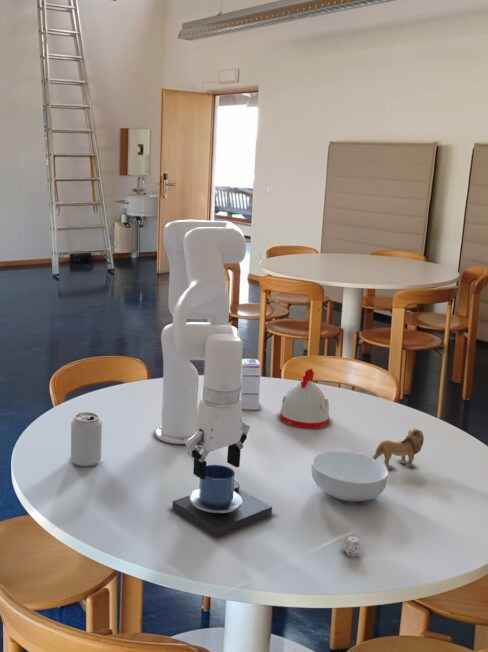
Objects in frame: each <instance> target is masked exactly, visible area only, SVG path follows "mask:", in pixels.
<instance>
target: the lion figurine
mask: <svg viewBox="0 0 488 652" xmlns="http://www.w3.org/2000/svg"><path fill="white" fill-rule="evenodd" d="M424 440H425V436H424V433H423V431H422V430H420V429H417V428H413V429H410V430H408V433H407V435H406V436H405V438H404V439H403V440H401V441H392V440H383V441H381V442H380V443H379V444H378V446H377V447H376V450H375V452H374V455H373V456H372V458H373V459H375V460H378V458H379V457H381V456H382V455H383V456H384V461H383V463H384V464H385V465H384V466H385V467H386V468H387V470H393V469H394V467H393V466H392V465H390V460H391V458H392V456H396V457H401V458H400V463H401V464H406V463H407V466H408V467H409V468H412V469H413V468H414V467H415V465H414V464H413V461H414V459H415V455H416V454H418V453H419V452H421V449H422V447H423V445H424ZM406 456H407V457H408V462H407V461H406Z"/></svg>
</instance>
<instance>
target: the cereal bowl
mask: <svg viewBox="0 0 488 652" xmlns="http://www.w3.org/2000/svg"><path fill="white" fill-rule="evenodd" d="M311 476H312V480H313V481H314V483H315V484H316V485H317V487H318V488H319V489H320V490H322V491H323V492H324V493H326V494H328V495H329V496H331V497H333V498H335V499H337V500H339V501H344V502H348V503H349V502H350V503H357V502H361V501H362V502H364V501H369V500H372V499H375V498H376V497H378V496H380V495H381V494H382V493H383V492H384V490H385V489H386V486H387V483H388V480H389V469H388V468H387V466H386V465H384V464H383V463H382V462H380V461H379V460H378V459H376V460H375V459H373V457H371V456H367V455H364V454H361V453H356V452H352V451H344V450H330V451H324V452H321V453H318V454H316V455H315V456H314V457H313V458H312V461H311Z"/></svg>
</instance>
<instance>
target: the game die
mask: <svg viewBox="0 0 488 652" xmlns="http://www.w3.org/2000/svg"><path fill="white" fill-rule="evenodd" d="M342 546H343V548H344V551H345V553H346V555H347V556H351V557H356V556H357V554H358V553H359V552H360V551H361V550H362V546H361V544H360V542H359V539H358V537H356V536H350V535H349V536H348V537H347V538H346V539H345V540H344V542H343V543H342Z"/></svg>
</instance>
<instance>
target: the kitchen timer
mask: <svg viewBox="0 0 488 652" xmlns="http://www.w3.org/2000/svg"><path fill="white" fill-rule="evenodd" d="M314 374H315V372H314V369H312V368H309V369H307V370H305V372H304V375H303V376H302V380H301V381H298V382H296V384H294V385H292V387H291V388H290V389H289V390H288V391H287V392H286V394H285V395H283V399H282V402H281V403H282V404H281V408H280V412H279V414H280V415H279V418H280V420H281V421H282V422H283V423H284V424H287V425H289V426H292V427H296V428H301V429H321V428H324V427H326V426H328V425H329V421H330V406H329V402H330V401H329V398H326V397H325V395H324V393H323V391H322V389H321V388H320V387H319V386H318V385H317V384H316V383H315V382H314V381H313V380H314V376H315V375H314Z"/></svg>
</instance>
